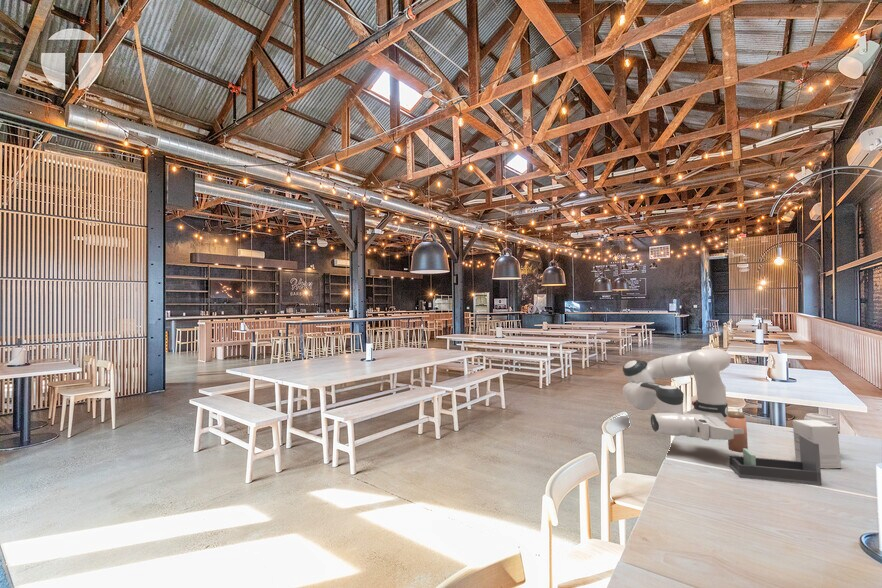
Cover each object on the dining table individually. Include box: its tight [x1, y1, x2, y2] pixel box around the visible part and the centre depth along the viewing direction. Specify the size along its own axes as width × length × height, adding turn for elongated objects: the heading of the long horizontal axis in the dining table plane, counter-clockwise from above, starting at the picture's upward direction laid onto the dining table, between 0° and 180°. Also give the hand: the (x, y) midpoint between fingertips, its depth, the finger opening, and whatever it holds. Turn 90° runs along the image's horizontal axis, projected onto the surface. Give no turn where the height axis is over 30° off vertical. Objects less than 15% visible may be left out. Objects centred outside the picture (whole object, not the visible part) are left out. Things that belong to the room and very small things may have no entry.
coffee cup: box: [803, 412, 839, 426], centre depth 154 cm, size 10×10×15 cm
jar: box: [727, 410, 749, 454], centre depth 152 cm, size 6×6×14 cm
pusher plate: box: [742, 448, 757, 466], centre depth 138 cm, size 1×7×6 cm, turn 160°
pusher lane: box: [728, 435, 822, 486], centre depth 136 cm, size 22×10×13 cm, turn 70°
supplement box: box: [792, 419, 842, 469], centre depth 145 cm, size 9×9×15 cm
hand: (739, 428), depth 152 cm, fingers closed on jar, 6 cm apart
